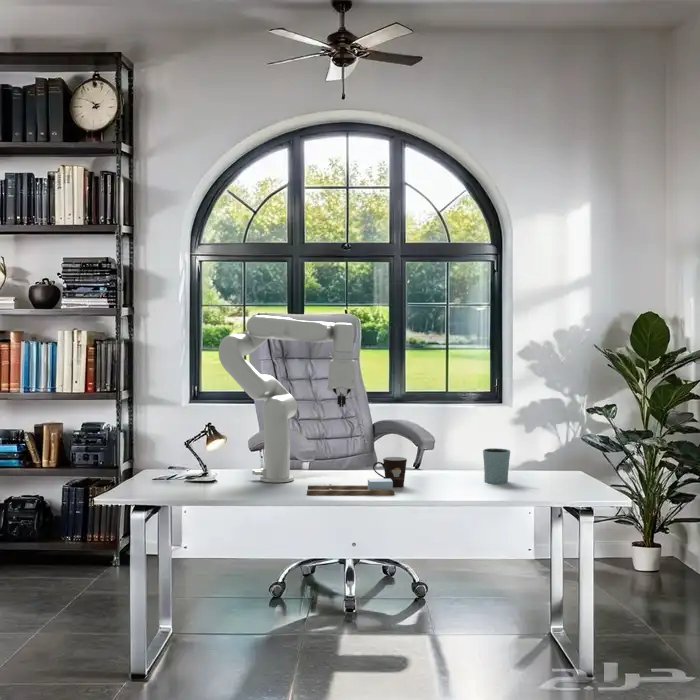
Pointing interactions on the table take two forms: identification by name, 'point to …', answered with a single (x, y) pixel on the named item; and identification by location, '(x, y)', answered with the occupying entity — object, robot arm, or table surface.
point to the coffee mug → (394, 470)
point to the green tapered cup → (496, 465)
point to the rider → (380, 484)
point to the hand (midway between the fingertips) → (341, 406)
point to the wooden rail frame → (345, 490)
